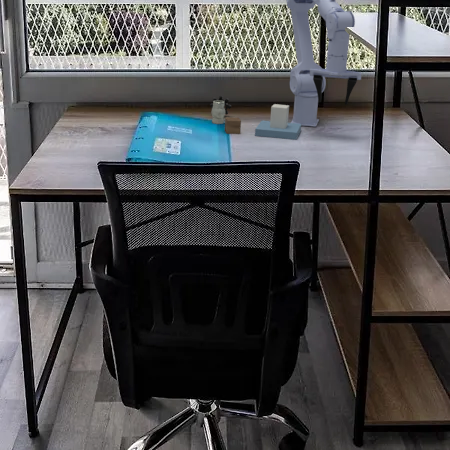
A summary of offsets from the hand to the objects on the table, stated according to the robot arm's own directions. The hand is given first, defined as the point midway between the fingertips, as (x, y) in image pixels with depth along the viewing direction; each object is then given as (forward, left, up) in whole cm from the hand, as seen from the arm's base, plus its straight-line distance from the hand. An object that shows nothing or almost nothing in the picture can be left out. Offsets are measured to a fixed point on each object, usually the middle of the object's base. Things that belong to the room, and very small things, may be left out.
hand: (332, 102), depth 239 cm
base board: (+2, -15, -10) cm, 18 cm away
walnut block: (+6, -28, -10) cm, 30 cm away
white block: (+2, -15, -8) cm, 17 cm away
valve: (-9, -35, -10) cm, 38 cm away
